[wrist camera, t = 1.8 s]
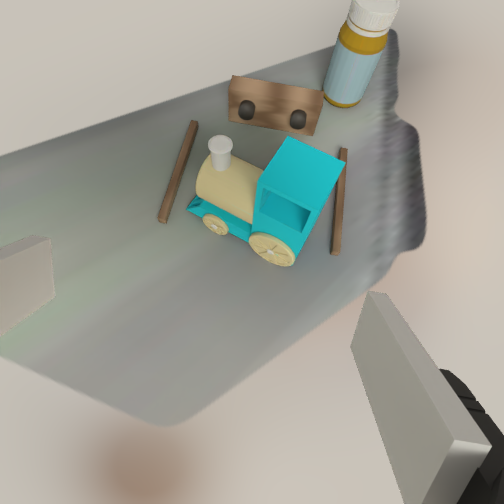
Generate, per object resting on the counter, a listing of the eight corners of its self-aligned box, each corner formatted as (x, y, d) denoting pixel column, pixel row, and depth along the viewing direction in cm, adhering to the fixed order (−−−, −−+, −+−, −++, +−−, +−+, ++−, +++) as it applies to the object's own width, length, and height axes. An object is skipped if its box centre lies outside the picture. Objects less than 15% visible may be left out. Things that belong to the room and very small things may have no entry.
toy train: (213, 177, 47) (205, 91, 33) (312, 227, 45) (348, 157, 31) (183, 216, 44) (161, 140, 31) (288, 273, 42) (315, 217, 28)
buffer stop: (226, 128, 51) (226, 96, 46) (232, 107, 53) (232, 75, 47) (311, 143, 51) (321, 113, 45) (314, 122, 53) (324, 91, 47)
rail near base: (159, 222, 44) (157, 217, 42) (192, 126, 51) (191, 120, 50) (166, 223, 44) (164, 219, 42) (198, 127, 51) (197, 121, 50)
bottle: (359, 113, 54) (402, 19, 40) (319, 105, 54) (349, 10, 40) (361, 85, 57) (402, -11, 43) (323, 78, 57) (352, -20, 43)
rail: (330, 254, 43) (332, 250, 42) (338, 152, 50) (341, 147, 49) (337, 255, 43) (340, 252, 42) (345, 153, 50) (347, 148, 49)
